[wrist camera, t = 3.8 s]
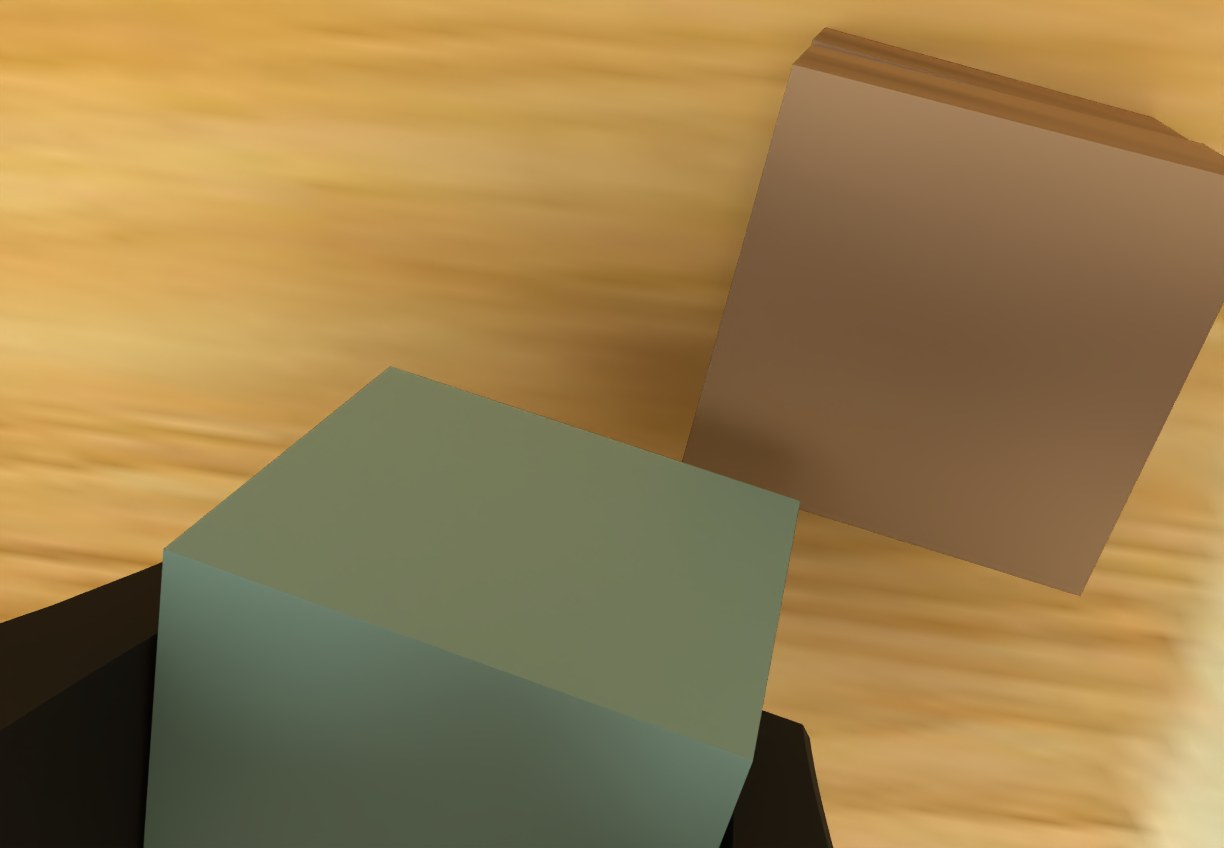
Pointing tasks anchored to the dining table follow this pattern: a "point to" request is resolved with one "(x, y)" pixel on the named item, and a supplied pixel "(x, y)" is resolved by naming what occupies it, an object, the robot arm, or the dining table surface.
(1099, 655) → the dining table surface
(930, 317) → the tower mid
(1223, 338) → the dining table surface
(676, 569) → the teal block
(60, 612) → the robot arm
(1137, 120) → the tower base
